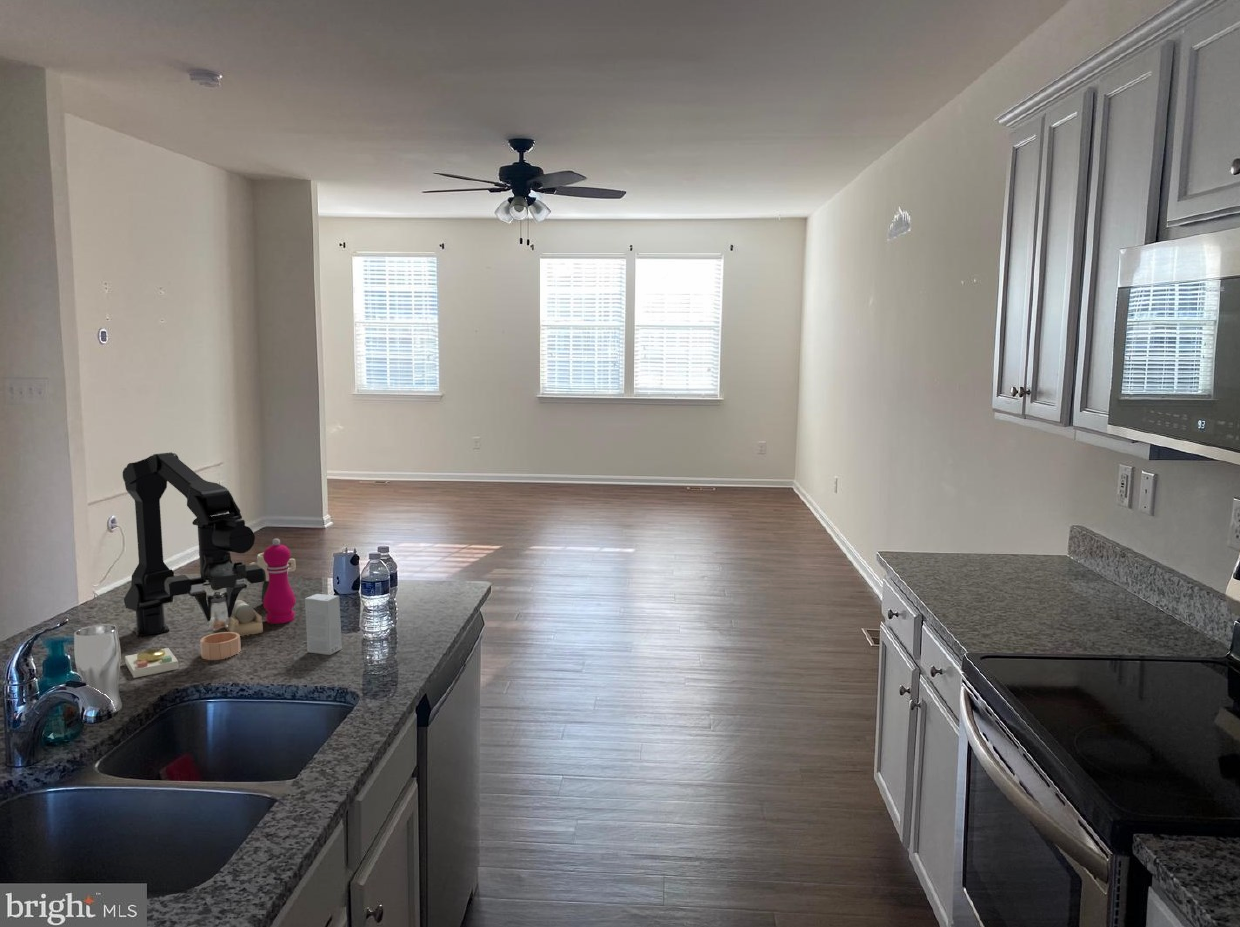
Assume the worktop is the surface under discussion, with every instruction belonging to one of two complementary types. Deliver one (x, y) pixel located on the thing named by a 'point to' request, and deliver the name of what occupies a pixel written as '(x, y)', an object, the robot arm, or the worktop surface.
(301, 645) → the worktop surface
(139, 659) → the gold disc
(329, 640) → the skincare box
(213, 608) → the glass salt shaker
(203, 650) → the peach faceted bowl
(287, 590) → the pepper mill
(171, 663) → the white decorated slab
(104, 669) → the beer glass
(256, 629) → the trough rack
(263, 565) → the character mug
